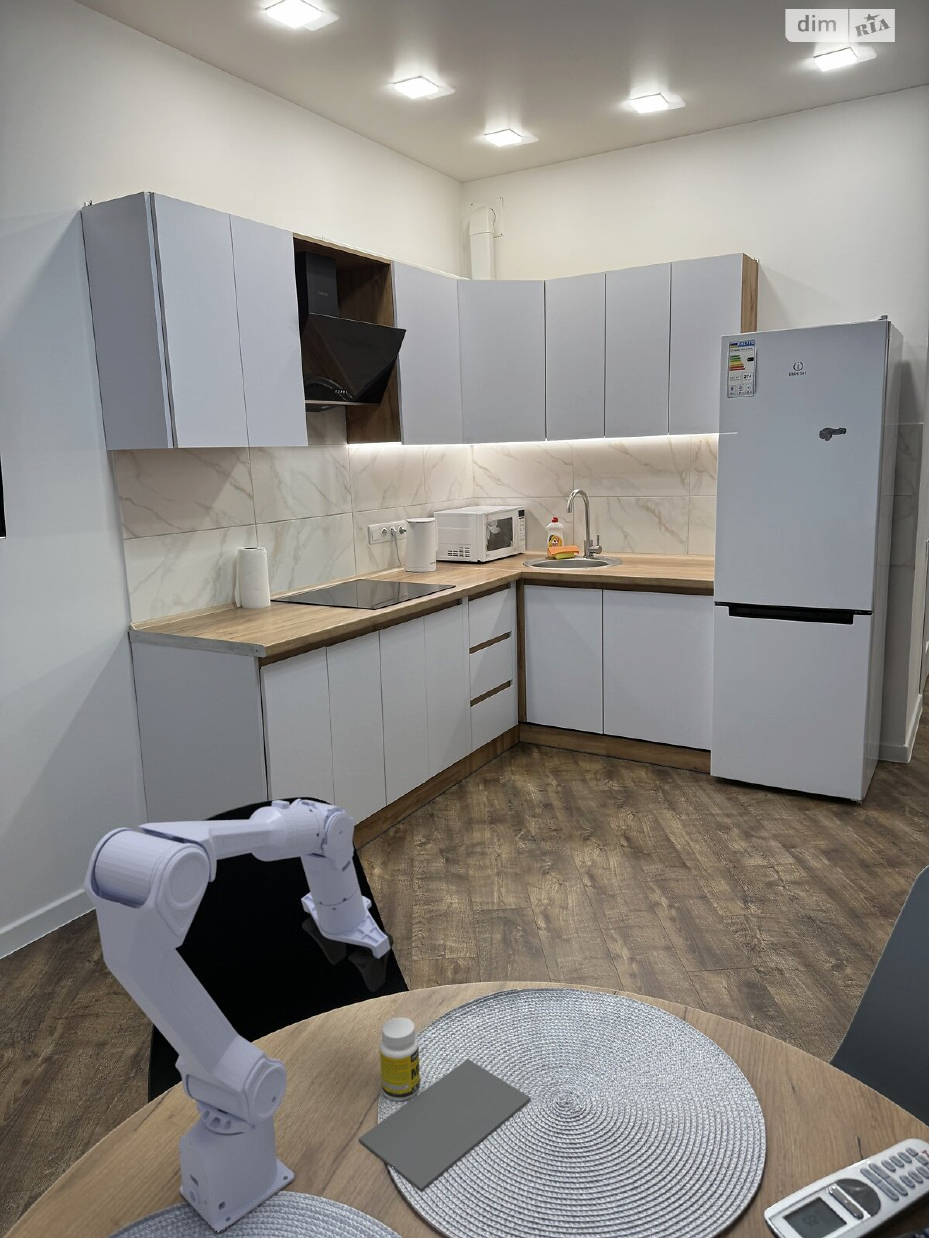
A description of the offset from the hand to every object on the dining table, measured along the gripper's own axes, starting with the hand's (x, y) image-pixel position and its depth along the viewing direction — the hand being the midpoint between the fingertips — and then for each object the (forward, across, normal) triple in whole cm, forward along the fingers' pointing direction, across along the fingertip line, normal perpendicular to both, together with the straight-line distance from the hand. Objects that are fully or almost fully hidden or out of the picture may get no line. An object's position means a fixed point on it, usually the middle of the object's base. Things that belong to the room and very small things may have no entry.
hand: (357, 972), depth 113 cm
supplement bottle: (+11, -9, +3) cm, 15 cm away
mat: (+10, -17, +3) cm, 20 cm away
